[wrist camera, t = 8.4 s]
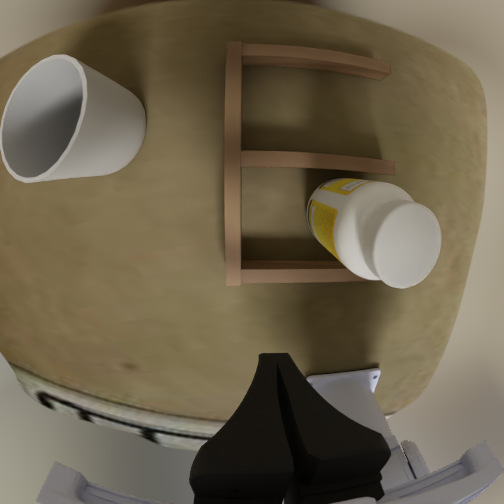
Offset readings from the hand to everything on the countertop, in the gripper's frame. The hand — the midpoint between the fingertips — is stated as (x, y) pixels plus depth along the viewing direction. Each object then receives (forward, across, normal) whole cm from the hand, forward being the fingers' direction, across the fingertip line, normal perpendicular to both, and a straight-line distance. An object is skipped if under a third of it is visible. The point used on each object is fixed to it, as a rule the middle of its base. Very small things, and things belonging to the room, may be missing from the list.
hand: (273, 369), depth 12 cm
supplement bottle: (+10, -6, -6) cm, 13 cm away
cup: (+10, +14, -12) cm, 21 cm away
